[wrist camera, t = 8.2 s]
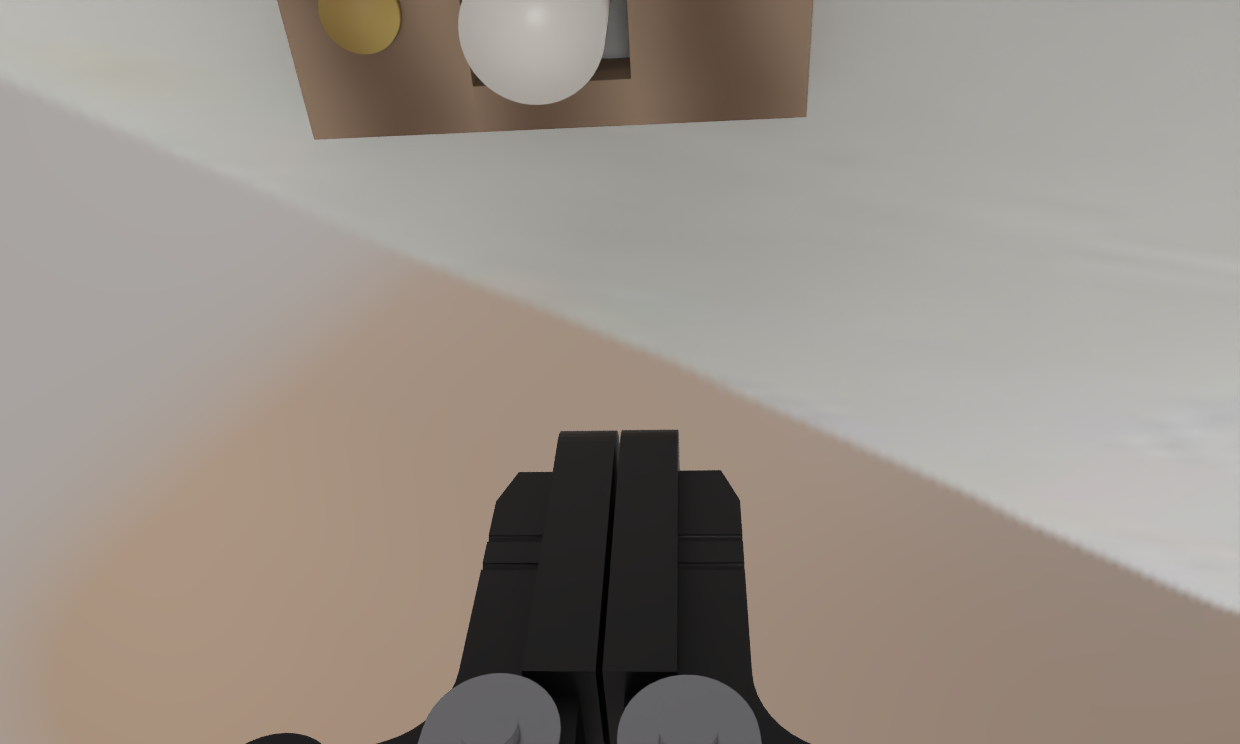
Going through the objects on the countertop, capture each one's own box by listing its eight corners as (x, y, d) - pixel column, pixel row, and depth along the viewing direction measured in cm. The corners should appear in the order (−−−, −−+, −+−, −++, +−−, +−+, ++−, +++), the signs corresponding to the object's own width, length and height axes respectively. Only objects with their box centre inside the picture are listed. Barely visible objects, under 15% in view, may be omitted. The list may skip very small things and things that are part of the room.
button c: (607, -90, 28) (599, -50, 24) (615, 44, 31) (610, 101, 27) (476, -82, 29) (446, -41, 25) (494, 51, 31) (470, 108, 27)
